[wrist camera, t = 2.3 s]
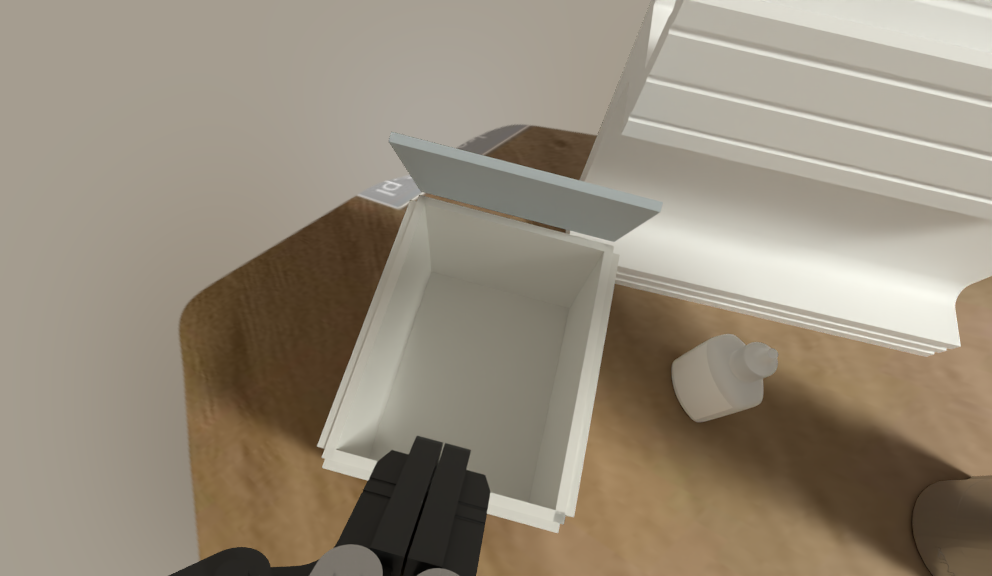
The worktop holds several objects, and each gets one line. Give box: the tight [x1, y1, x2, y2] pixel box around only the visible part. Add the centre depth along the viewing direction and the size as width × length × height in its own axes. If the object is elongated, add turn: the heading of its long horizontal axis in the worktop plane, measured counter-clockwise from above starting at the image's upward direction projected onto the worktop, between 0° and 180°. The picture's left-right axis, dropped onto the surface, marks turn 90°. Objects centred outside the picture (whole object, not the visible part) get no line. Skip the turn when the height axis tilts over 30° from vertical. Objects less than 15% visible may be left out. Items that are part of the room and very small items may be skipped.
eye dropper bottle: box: [671, 334, 778, 422], centre depth 38 cm, size 4×6×12 cm
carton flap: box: [389, 132, 663, 242], centre depth 29 cm, size 10×14×1 cm
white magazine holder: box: [565, 0, 992, 357], centre depth 36 cm, size 35×8×28 cm, turn 77°
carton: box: [317, 195, 620, 533], centre depth 37 cm, size 18×15×12 cm
